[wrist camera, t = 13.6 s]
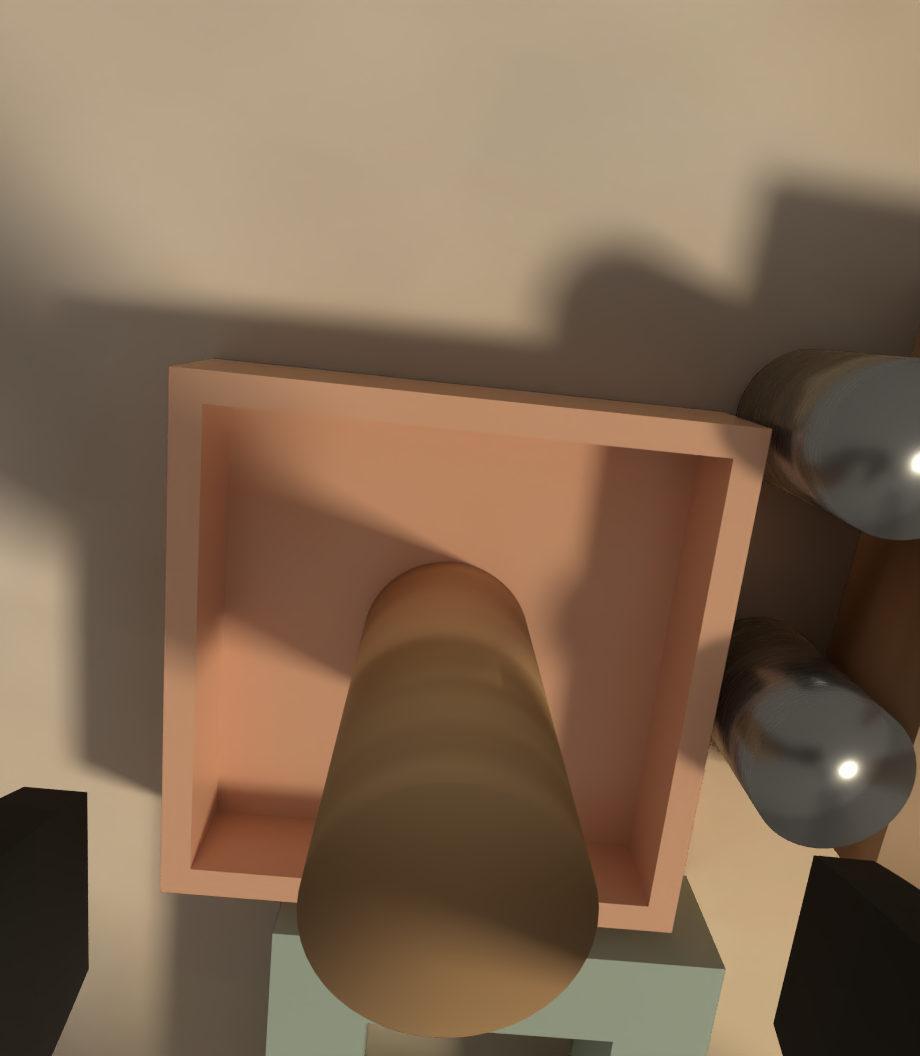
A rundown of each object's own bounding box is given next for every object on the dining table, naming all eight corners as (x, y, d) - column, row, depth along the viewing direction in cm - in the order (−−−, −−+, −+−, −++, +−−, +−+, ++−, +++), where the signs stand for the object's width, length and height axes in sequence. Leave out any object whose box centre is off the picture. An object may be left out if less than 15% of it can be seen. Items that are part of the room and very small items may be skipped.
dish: (642, 850, 17) (671, 933, 15) (199, 813, 16) (160, 891, 14) (723, 411, 15) (772, 429, 12) (213, 358, 14) (169, 366, 12)
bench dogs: (801, 741, 16) (894, 855, 13) (677, 731, 16) (737, 841, 13) (890, 356, 14) (1027, 369, 11) (750, 341, 14) (844, 349, 11)
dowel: (519, 720, 15) (579, 1044, 9) (359, 709, 15) (291, 1030, 8) (536, 567, 15) (617, 792, 8) (367, 555, 14) (301, 772, 8)
